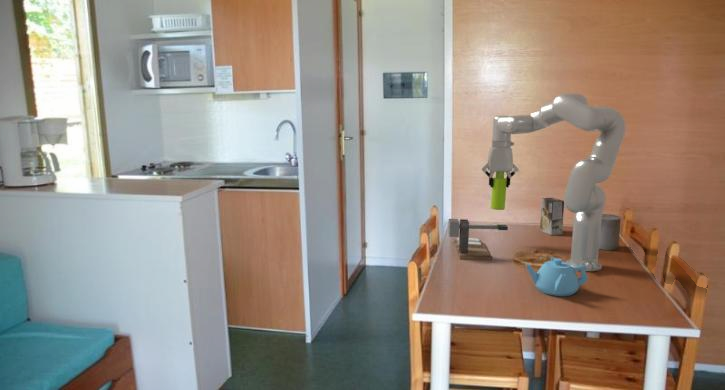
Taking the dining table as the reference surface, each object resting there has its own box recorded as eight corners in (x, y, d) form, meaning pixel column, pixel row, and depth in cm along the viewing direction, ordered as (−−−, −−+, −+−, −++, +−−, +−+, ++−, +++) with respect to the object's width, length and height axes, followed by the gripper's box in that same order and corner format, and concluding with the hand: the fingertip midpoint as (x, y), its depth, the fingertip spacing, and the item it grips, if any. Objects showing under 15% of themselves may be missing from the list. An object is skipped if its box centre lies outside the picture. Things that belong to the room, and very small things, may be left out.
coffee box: (562, 234, 251) (565, 200, 248) (551, 235, 249) (553, 201, 246) (550, 229, 259) (552, 197, 256) (539, 230, 258) (541, 197, 255)
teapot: (560, 302, 169) (563, 269, 167) (522, 288, 182) (524, 257, 180) (589, 292, 178) (592, 261, 176) (551, 279, 190) (553, 250, 188)
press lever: (507, 237, 212) (508, 223, 211) (449, 236, 213) (450, 222, 212) (504, 234, 218) (505, 219, 217) (448, 233, 219) (448, 218, 218)
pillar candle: (613, 244, 234) (616, 211, 231) (621, 251, 224) (624, 216, 222) (590, 244, 235) (592, 210, 232) (597, 250, 225) (600, 215, 223)
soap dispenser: (508, 210, 229) (512, 163, 226) (492, 209, 229) (495, 163, 226) (505, 207, 235) (508, 162, 231) (489, 207, 235) (492, 161, 232)
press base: (490, 259, 212) (492, 224, 209) (459, 259, 213) (461, 223, 210) (480, 243, 236) (482, 210, 233) (453, 242, 236) (454, 210, 234)
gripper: (520, 144, 230) (517, 185, 234) (479, 144, 231) (477, 185, 235) (524, 145, 223) (521, 188, 226) (481, 145, 224) (480, 188, 227)
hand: (499, 186), depth 230 cm, fingers closed on soap dispenser, 6 cm apart
